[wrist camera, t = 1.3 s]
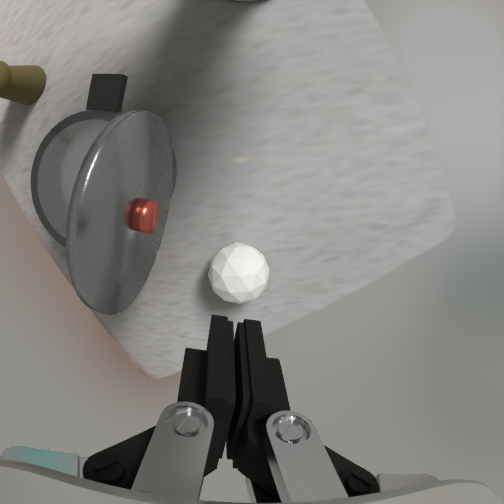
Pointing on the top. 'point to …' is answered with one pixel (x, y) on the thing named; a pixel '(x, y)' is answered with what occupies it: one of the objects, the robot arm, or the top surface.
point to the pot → (74, 152)
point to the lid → (119, 210)
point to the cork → (21, 83)
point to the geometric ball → (238, 273)
